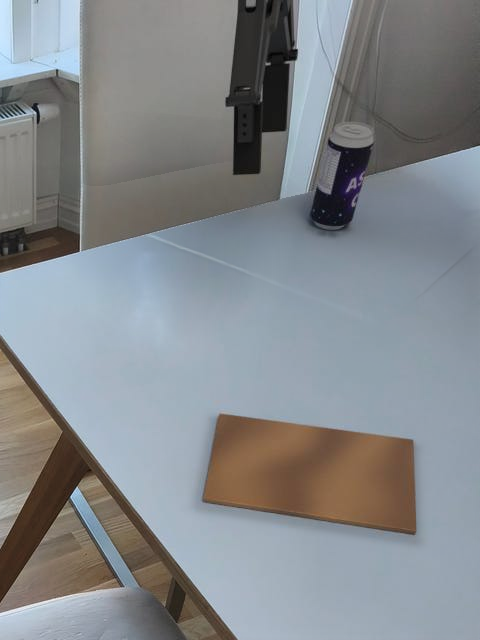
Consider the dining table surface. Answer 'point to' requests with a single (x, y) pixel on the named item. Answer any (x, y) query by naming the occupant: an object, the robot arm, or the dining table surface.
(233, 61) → the robot arm
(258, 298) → the dining table surface
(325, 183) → the beverage can
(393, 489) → the copper plate
